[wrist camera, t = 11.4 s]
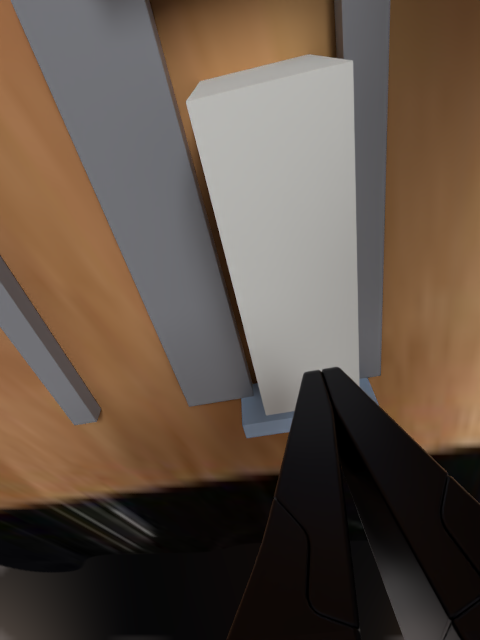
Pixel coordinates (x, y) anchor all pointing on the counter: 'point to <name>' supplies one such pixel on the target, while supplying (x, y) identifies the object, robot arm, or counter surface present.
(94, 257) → the counter surface
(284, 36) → the counter surface
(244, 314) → the white rectangular prism
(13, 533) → the counter surface
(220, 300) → the grey long bars
